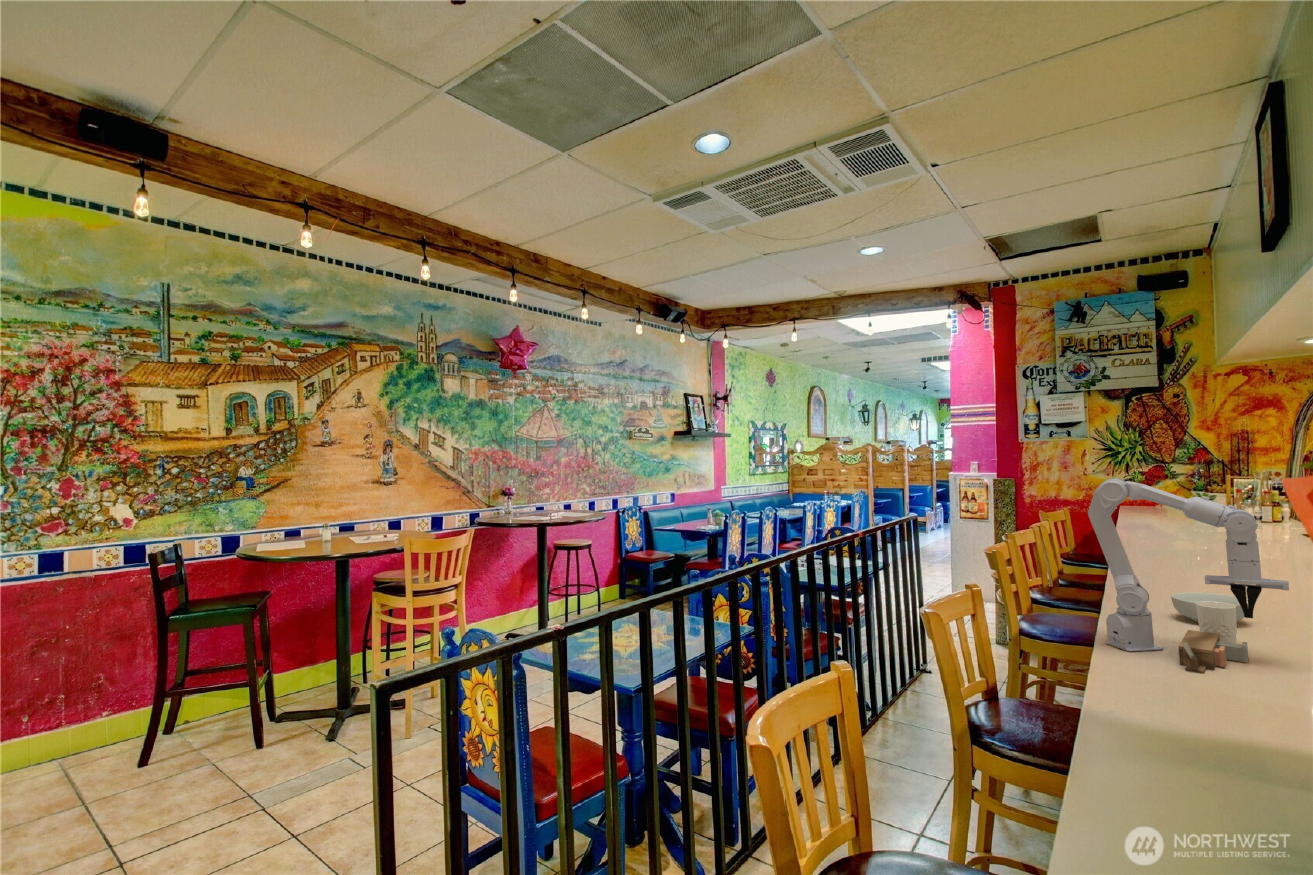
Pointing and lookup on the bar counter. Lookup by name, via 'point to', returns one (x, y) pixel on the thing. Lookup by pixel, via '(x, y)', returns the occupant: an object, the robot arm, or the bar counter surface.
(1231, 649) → the plunger grey
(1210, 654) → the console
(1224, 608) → the white cup
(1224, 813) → the bar counter surface
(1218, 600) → the cereal bowl
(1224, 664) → the flanged terracotta block
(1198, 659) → the toggle lever
